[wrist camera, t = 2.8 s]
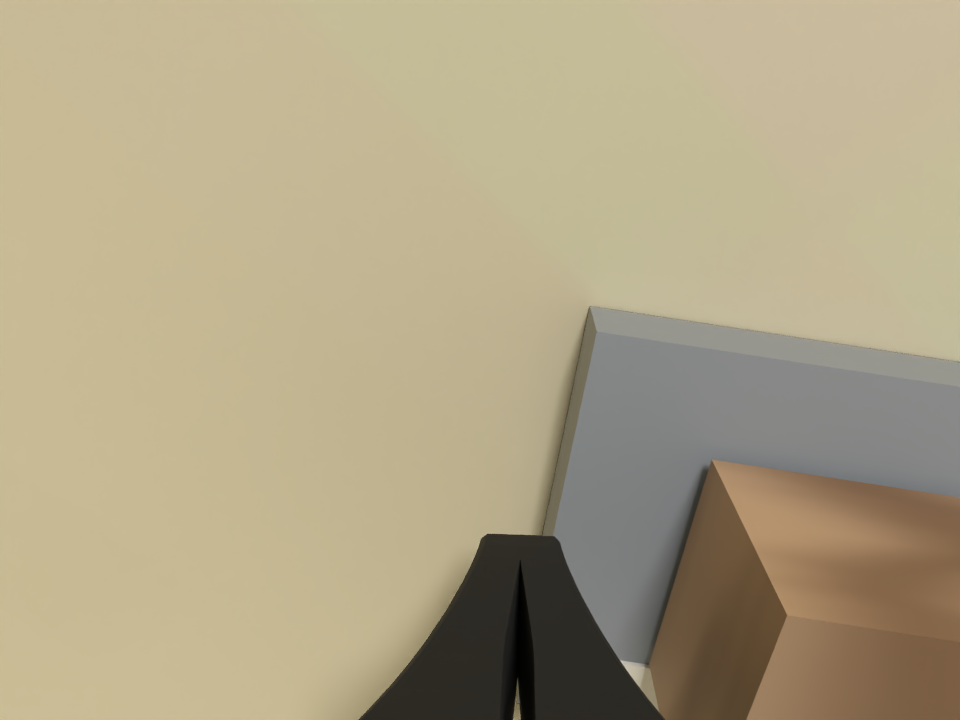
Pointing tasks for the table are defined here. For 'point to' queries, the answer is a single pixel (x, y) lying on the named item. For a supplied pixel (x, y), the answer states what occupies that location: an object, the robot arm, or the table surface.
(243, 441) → the table surface
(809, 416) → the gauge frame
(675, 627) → the block
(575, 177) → the table surface
